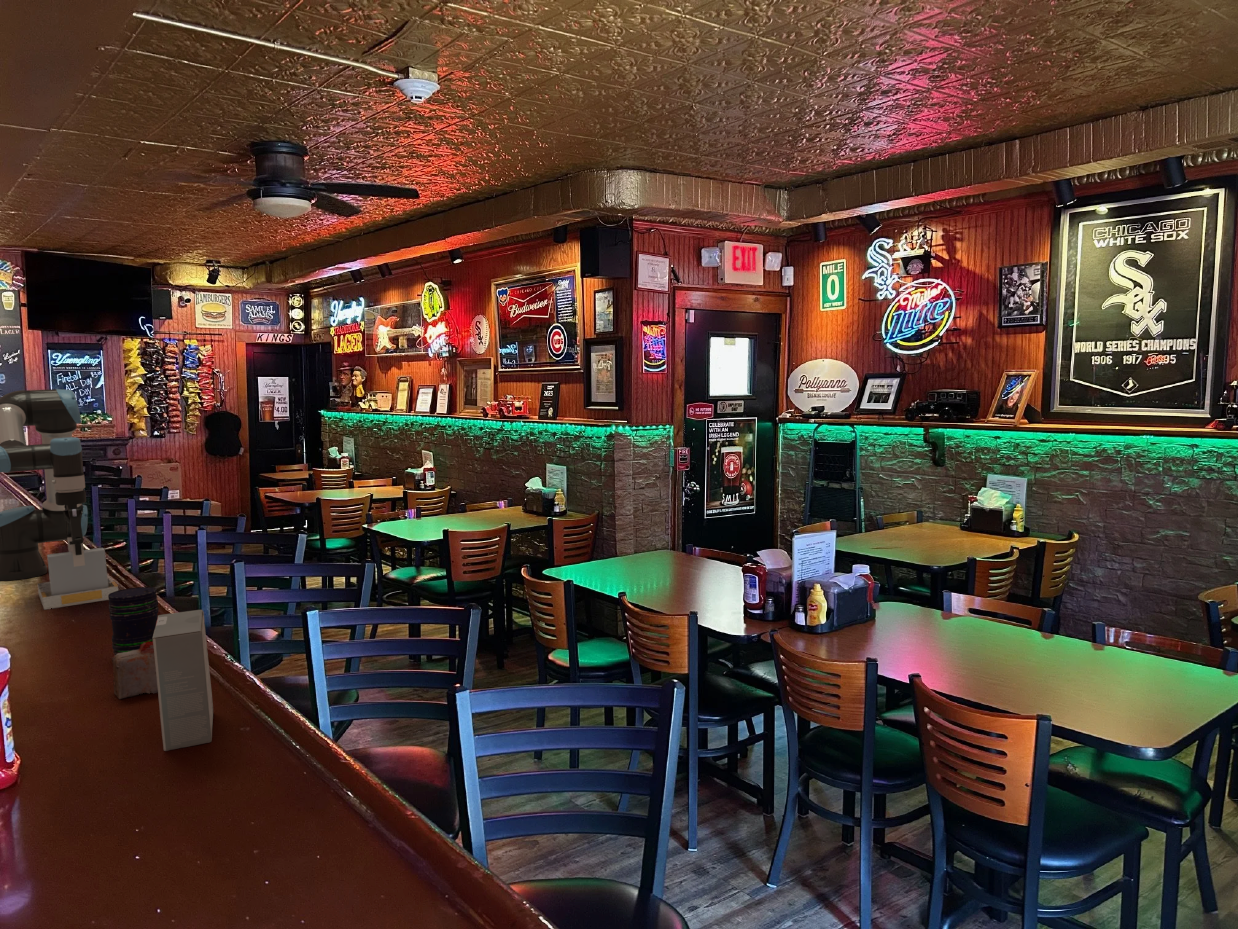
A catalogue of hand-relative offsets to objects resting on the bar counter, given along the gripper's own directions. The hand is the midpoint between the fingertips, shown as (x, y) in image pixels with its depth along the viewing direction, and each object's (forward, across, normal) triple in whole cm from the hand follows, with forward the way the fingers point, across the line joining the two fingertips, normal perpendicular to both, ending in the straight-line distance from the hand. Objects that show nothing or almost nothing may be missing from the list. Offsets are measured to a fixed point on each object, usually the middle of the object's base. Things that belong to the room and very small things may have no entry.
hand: (77, 562), depth 251 cm
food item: (+11, +102, +4) cm, 102 cm away
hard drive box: (+10, +131, +5) cm, 132 cm away
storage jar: (+11, +74, +5) cm, 75 cm away
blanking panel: (+11, 0, 0) cm, 11 cm away
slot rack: (+12, -7, 0) cm, 14 cm away
